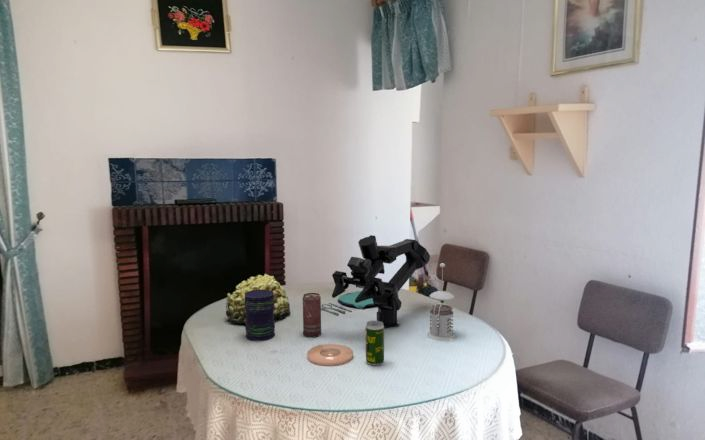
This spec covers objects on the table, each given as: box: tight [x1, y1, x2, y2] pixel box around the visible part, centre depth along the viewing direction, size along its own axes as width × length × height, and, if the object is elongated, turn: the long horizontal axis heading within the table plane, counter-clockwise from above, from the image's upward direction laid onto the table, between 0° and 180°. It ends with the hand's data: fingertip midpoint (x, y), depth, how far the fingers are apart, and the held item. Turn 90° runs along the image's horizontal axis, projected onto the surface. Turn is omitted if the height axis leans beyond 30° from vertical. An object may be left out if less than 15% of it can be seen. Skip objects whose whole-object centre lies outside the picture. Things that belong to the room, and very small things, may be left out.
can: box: [302, 292, 322, 338], centre depth 169 cm, size 6×6×14 cm
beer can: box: [365, 320, 385, 367], centre depth 146 cm, size 5×5×12 cm
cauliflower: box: [225, 273, 291, 324], centre depth 189 cm, size 25×24×16 cm
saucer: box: [306, 343, 354, 367], centre depth 151 cm, size 14×14×1 cm
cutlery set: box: [321, 290, 374, 316], centre depth 205 cm, size 20×30×2 cm, turn 129°
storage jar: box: [244, 289, 276, 342], centre depth 168 cm, size 10×10×15 cm
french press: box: [426, 262, 457, 341], centre depth 166 cm, size 10×12×25 cm
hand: (343, 299), depth 157 cm, fingers open, 9 cm apart
